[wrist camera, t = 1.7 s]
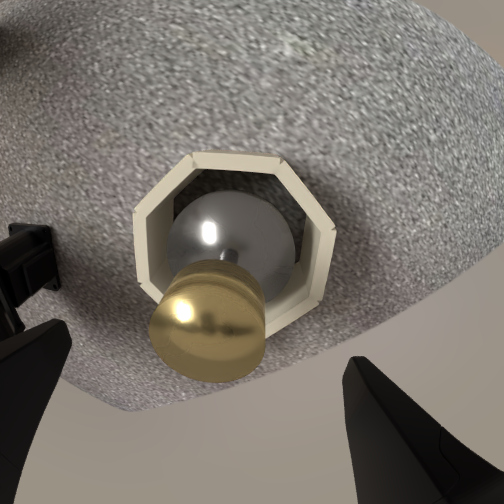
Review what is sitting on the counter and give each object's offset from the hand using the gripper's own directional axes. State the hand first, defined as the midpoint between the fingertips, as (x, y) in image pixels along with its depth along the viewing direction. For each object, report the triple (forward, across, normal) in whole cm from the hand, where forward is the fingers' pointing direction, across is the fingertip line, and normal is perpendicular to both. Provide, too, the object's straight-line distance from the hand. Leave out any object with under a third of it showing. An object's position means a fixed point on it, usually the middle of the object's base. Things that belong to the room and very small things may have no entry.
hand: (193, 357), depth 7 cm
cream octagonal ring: (+13, 0, +2) cm, 13 cm away
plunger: (+9, 0, 0) cm, 9 cm away
